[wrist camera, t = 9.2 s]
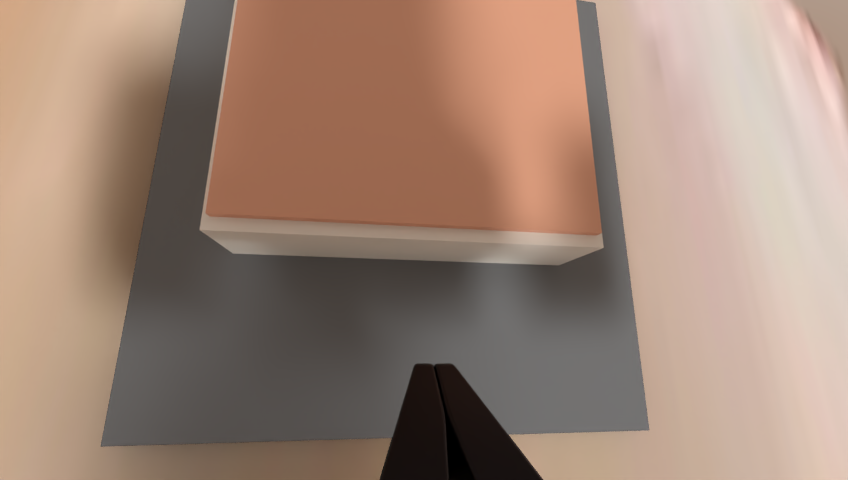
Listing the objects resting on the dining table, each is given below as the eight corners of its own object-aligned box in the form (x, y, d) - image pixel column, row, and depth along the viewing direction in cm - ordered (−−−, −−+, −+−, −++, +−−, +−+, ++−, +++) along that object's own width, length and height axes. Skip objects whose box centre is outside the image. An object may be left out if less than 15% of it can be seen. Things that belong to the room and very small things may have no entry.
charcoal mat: (638, 427, 15) (649, 430, 14) (112, 441, 12) (100, 446, 12) (588, 12, 20) (595, 2, 19) (201, -41, 17) (196, -54, 17)
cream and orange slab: (609, 245, 12) (579, -15, 15) (195, 226, 11) (240, -64, 13) (558, 265, 16) (541, 48, 18) (232, 253, 14) (263, 14, 16)
